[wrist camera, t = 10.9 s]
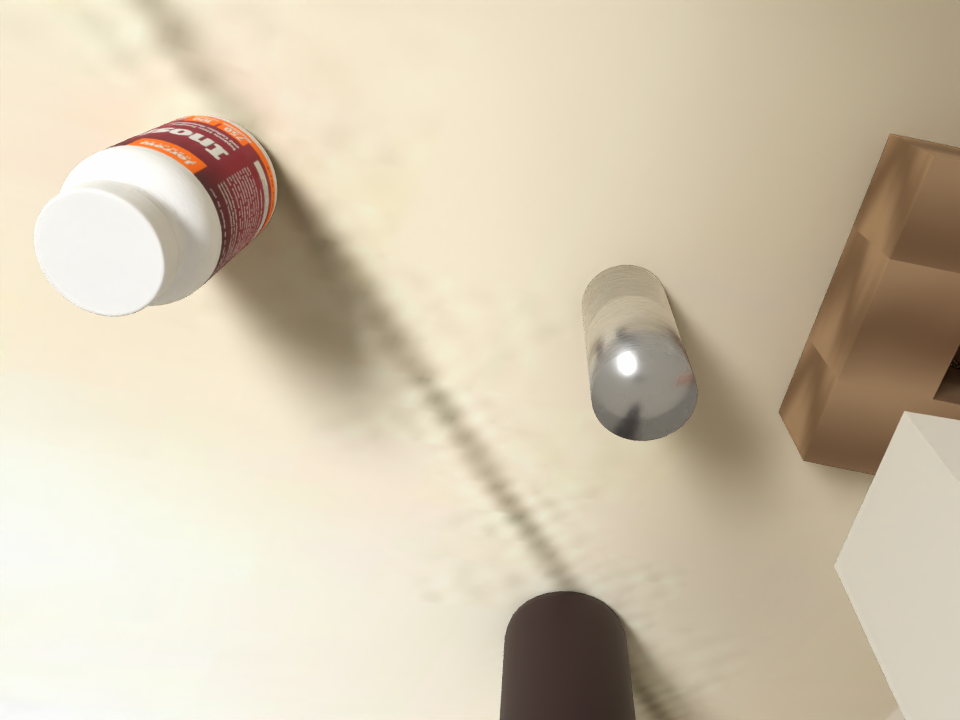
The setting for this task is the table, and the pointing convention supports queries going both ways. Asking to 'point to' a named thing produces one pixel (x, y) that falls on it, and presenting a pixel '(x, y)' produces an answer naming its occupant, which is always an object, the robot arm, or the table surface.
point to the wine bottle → (566, 661)
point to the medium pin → (635, 356)
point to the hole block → (885, 315)
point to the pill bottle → (155, 215)
